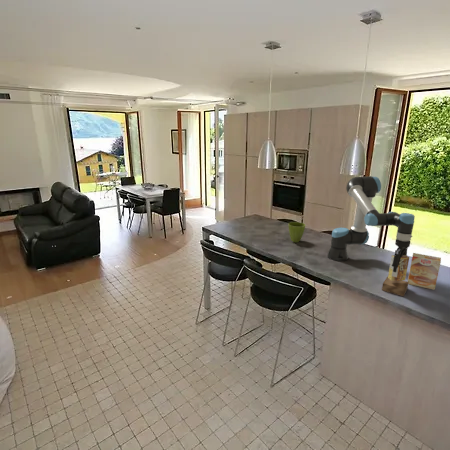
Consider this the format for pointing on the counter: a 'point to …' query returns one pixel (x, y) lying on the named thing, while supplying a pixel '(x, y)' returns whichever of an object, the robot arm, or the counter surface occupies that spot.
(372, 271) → the counter surface
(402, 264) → the candy box
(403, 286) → the walnut block
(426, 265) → the coffeecake box
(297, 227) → the flower pot
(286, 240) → the counter surface
